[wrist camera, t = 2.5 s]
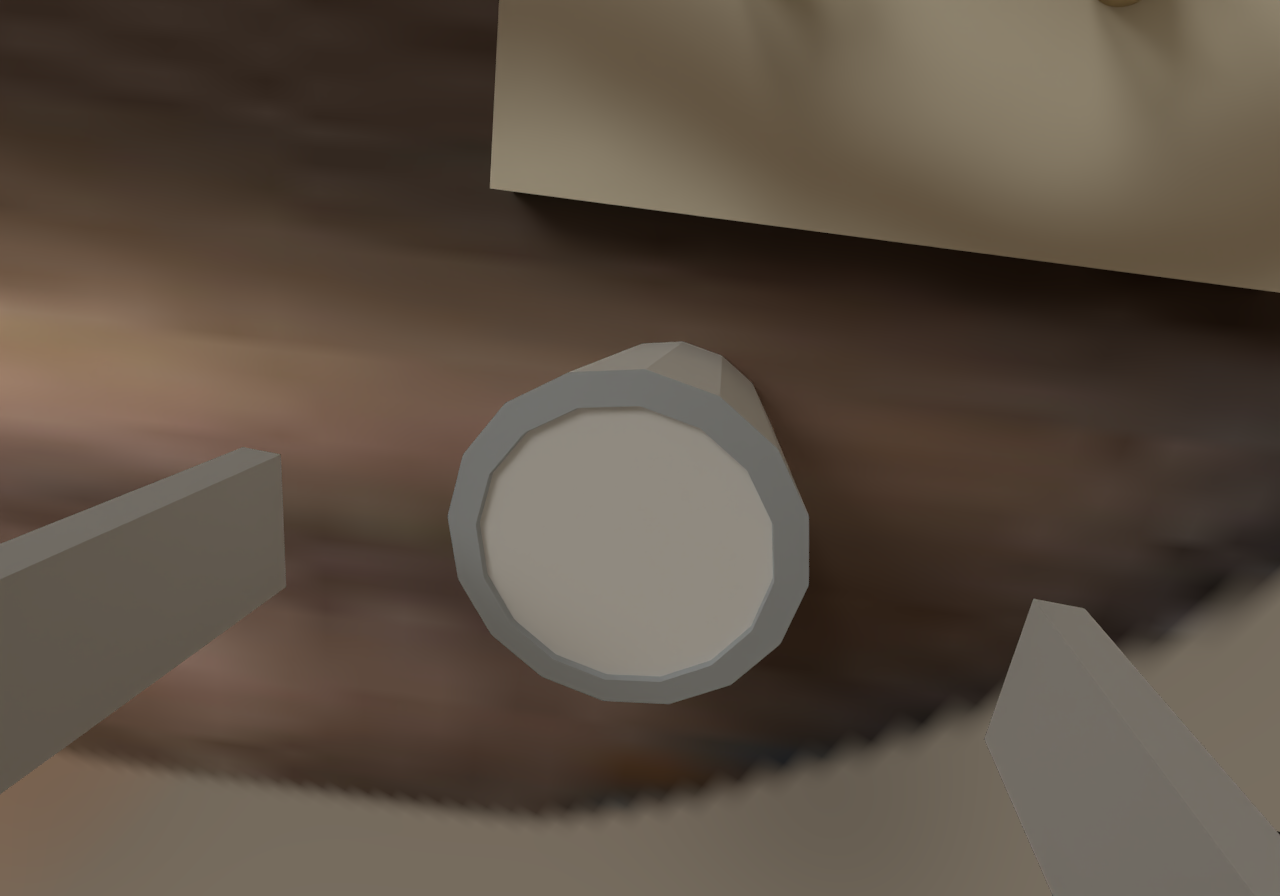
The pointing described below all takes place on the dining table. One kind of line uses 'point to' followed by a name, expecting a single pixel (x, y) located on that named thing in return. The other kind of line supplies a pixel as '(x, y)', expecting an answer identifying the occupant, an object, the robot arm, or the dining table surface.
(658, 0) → the pin board
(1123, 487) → the dining table surface
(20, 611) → the robot arm
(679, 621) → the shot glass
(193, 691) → the dining table surface
